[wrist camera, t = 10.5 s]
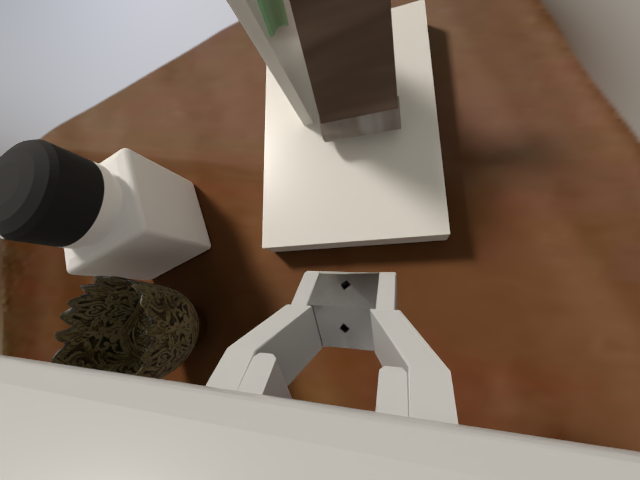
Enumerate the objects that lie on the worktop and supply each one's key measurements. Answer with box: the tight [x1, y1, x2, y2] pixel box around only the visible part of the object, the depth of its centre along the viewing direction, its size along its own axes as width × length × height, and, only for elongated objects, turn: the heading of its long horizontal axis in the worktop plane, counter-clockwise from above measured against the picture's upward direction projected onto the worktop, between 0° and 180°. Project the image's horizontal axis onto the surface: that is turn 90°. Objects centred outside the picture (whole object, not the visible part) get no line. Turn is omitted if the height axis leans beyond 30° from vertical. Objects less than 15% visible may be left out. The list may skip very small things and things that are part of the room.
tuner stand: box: [227, 0, 450, 252], centre depth 17 cm, size 18×13×14 cm
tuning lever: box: [289, 0, 401, 142], centre depth 16 cm, size 2×5×14 cm
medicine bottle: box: [0, 139, 211, 280], centre depth 21 cm, size 7×7×12 cm
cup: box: [51, 276, 206, 379], centre depth 21 cm, size 8×7×8 cm
